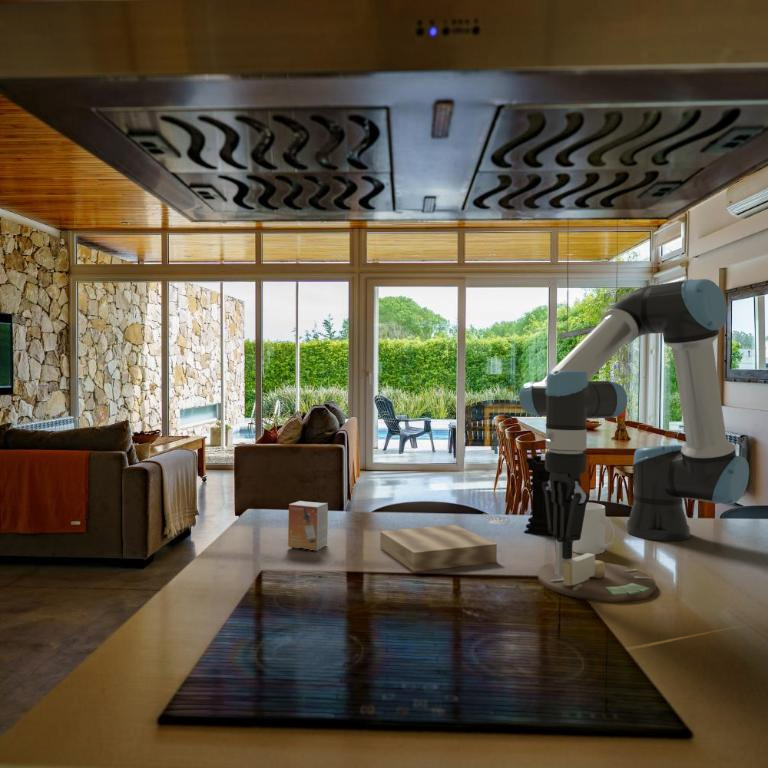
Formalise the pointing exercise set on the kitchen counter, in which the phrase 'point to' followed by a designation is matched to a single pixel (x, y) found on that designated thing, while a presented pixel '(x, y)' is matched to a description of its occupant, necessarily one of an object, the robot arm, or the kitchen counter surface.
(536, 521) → the chess piece
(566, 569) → the white bar with ball
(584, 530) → the mug
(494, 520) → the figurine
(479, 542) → the block
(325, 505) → the small box
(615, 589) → the dial
